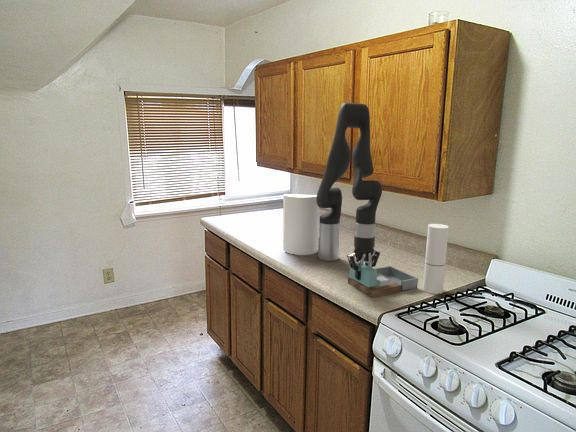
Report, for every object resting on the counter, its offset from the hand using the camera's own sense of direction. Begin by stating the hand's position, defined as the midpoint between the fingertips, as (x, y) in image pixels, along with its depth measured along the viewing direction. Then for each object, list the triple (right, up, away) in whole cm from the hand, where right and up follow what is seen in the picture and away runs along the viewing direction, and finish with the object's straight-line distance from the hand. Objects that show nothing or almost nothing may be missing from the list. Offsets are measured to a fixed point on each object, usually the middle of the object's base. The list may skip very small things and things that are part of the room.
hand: (362, 278), depth 156 cm
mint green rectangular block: (0, -1, 0) cm, 1 cm away
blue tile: (+7, -2, 0) cm, 7 cm away
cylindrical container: (+27, -5, +1) cm, 27 cm away
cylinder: (-22, +6, +51) cm, 56 cm away
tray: (+14, -3, +8) cm, 17 cm away
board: (+5, -4, +3) cm, 7 cm away
